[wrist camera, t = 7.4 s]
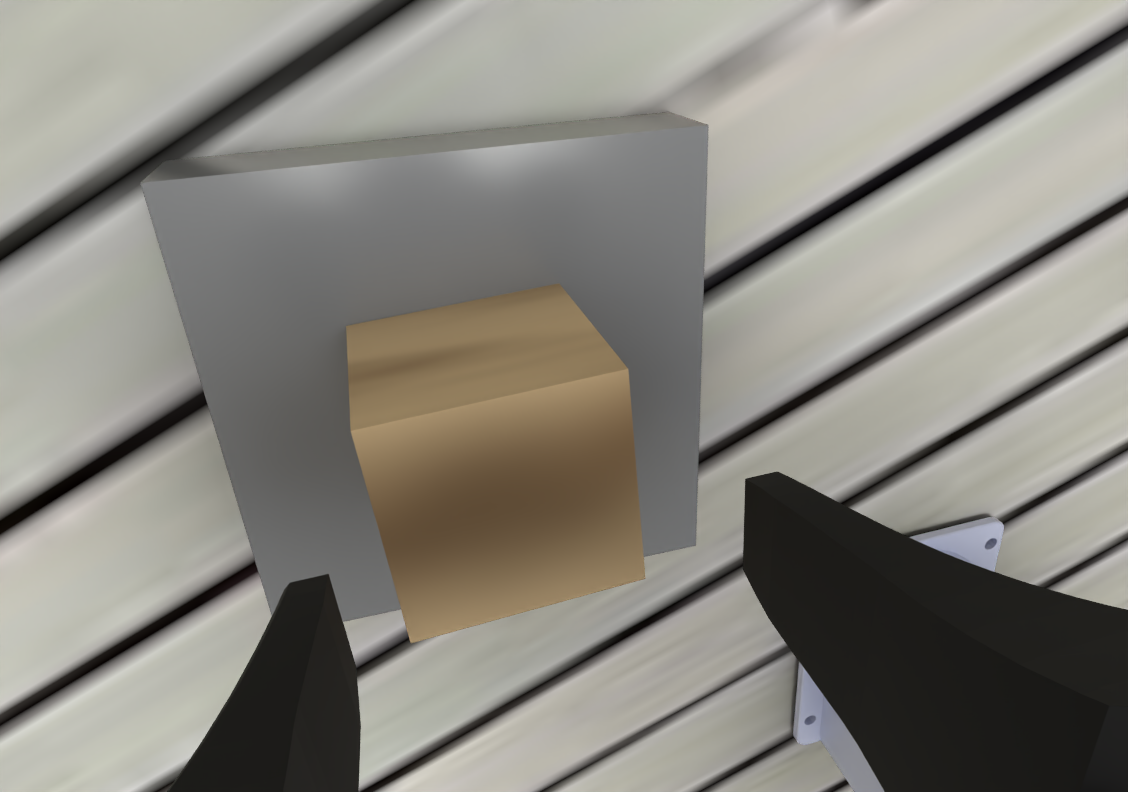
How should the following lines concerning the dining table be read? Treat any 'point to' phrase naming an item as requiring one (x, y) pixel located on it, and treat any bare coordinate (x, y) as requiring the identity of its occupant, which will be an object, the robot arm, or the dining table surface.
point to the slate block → (427, 303)
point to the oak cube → (495, 457)
